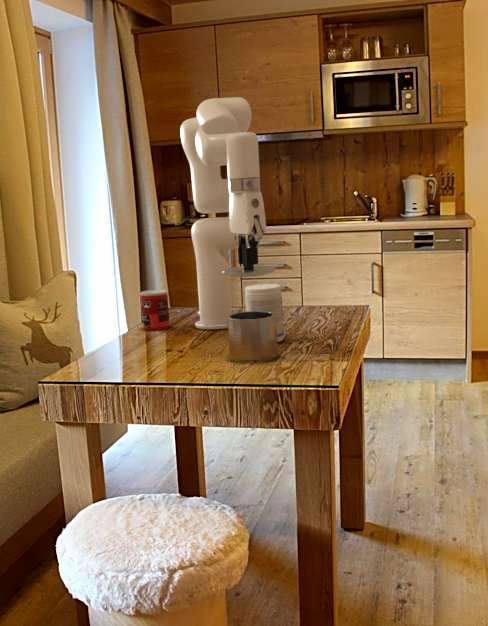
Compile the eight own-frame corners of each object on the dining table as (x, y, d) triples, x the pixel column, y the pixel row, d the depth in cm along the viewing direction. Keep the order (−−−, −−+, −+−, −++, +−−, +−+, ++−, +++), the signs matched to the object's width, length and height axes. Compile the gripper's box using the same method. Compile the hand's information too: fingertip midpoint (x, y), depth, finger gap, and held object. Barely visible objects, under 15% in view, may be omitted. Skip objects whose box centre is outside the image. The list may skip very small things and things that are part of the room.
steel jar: (221, 357, 204) (218, 315, 202) (261, 350, 209) (259, 309, 207) (244, 366, 194) (242, 322, 192) (286, 358, 199) (284, 315, 197)
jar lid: (212, 274, 201) (210, 246, 199) (258, 269, 206) (256, 241, 205) (238, 279, 189) (236, 249, 188) (285, 273, 195) (284, 243, 194)
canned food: (142, 326, 250) (139, 290, 248) (169, 324, 250) (166, 288, 248) (143, 331, 242) (140, 294, 240) (170, 329, 243) (167, 292, 241)
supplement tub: (291, 340, 217) (289, 285, 215) (263, 346, 212) (260, 290, 210) (268, 335, 226) (265, 282, 223) (240, 341, 220) (237, 287, 218)
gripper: (276, 184, 188) (279, 265, 192) (241, 185, 203) (245, 260, 206) (247, 187, 185) (251, 268, 188) (214, 187, 200) (218, 263, 203)
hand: (248, 263), depth 197 cm, fingers closed on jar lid, 2 cm apart
